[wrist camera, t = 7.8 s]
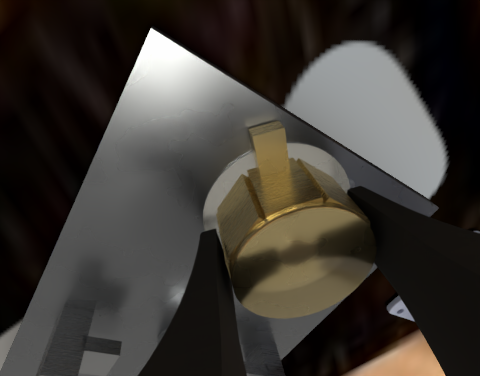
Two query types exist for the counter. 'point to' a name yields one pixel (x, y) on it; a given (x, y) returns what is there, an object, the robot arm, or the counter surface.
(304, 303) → the cap
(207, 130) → the base
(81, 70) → the counter surface
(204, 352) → the robot arm
